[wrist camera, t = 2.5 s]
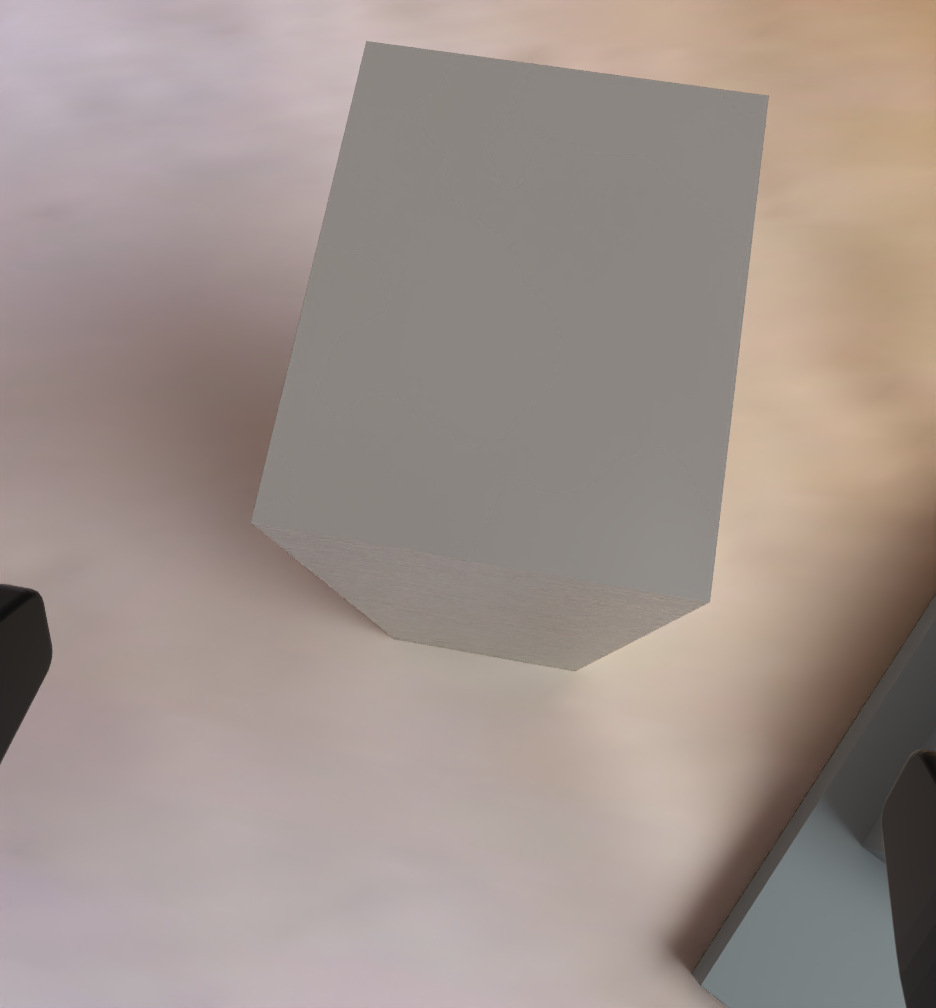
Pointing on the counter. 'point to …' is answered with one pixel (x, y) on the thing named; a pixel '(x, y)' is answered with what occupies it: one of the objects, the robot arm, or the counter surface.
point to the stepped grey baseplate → (833, 865)
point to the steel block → (519, 354)
